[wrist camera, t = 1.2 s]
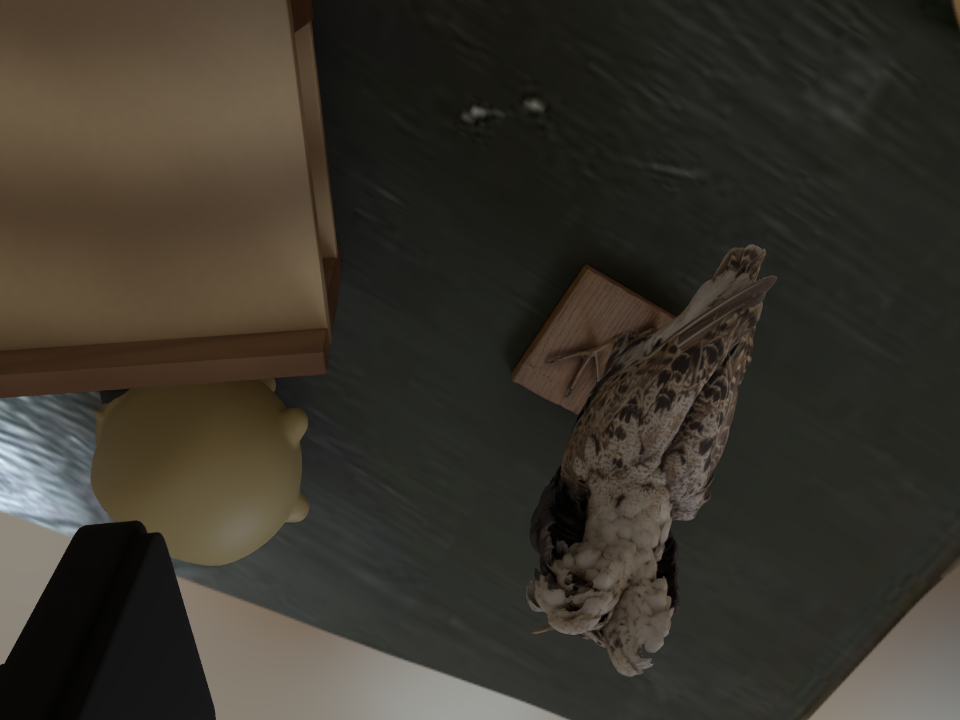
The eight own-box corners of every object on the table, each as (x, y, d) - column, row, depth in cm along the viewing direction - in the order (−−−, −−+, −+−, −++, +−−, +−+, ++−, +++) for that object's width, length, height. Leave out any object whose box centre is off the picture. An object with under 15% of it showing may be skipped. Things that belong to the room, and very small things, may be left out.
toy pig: (219, 313, 48) (26, 354, 41) (352, 384, 41) (148, 450, 34) (224, 460, 52) (48, 522, 44) (346, 548, 45) (161, 640, 37)
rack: (-100, -2, 37) (-313, 13, 26) (310, -18, 38) (276, -11, 27) (-8, 293, 43) (-148, 409, 32) (342, 271, 44) (326, 374, 33)
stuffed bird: (476, 486, 51) (514, 714, 35) (560, 166, 43) (655, 280, 27) (629, 506, 53) (728, 732, 37) (737, 202, 45) (920, 329, 29)
